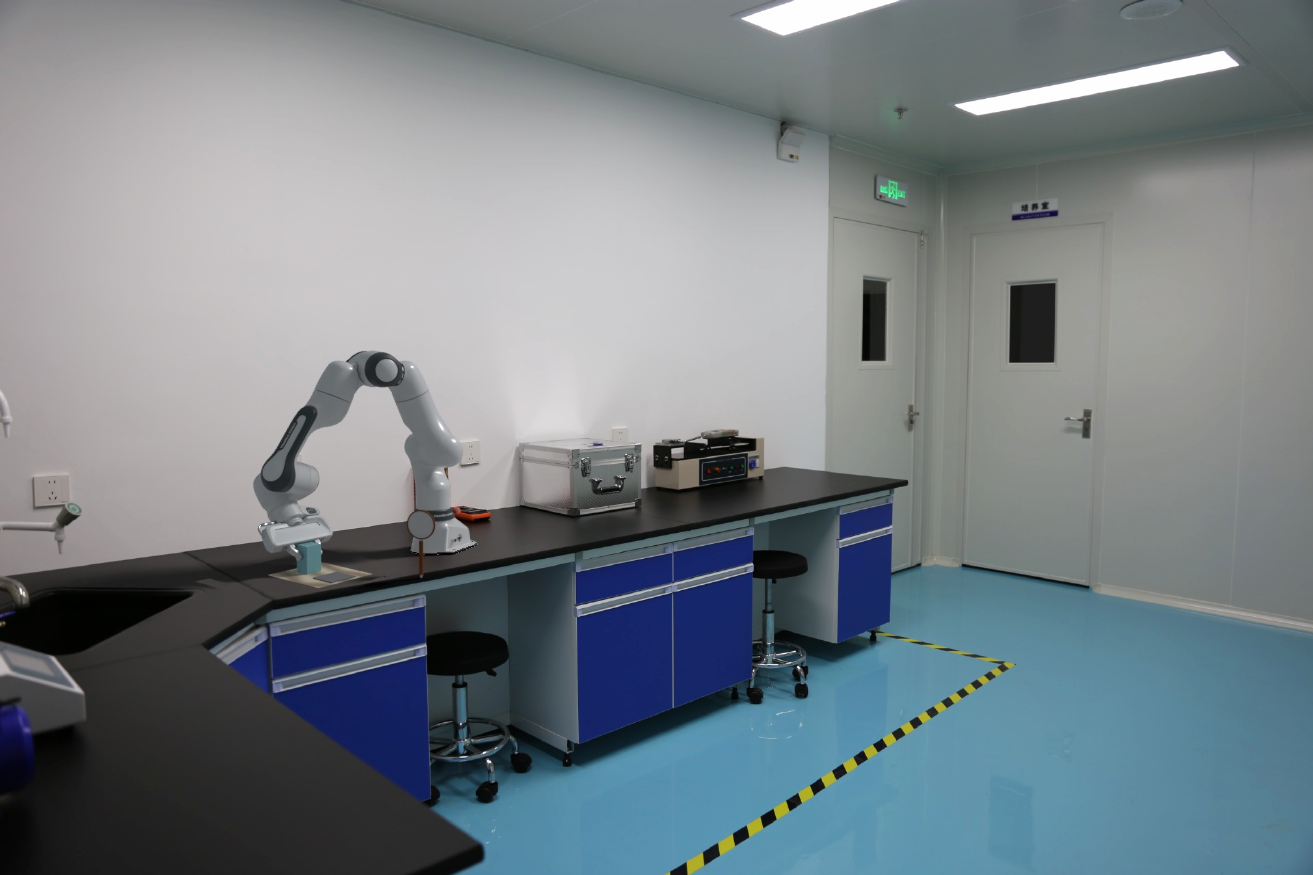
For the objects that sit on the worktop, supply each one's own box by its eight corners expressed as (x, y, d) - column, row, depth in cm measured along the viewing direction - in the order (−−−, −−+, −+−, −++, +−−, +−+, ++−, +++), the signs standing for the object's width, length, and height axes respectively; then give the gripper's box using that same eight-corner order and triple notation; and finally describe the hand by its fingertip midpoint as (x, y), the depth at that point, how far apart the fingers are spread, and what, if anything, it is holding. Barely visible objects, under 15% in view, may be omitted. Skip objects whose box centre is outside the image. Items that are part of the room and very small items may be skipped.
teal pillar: (310, 568, 244) (310, 541, 243) (321, 571, 242) (320, 543, 241) (296, 572, 240) (296, 544, 239) (307, 574, 238) (306, 546, 237)
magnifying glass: (405, 577, 243) (405, 509, 241) (408, 576, 245) (408, 508, 243) (433, 579, 242) (433, 511, 240) (436, 578, 243) (436, 510, 241)
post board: (322, 567, 252) (322, 545, 251) (372, 579, 241) (372, 556, 240) (267, 580, 237) (267, 557, 236) (318, 593, 225) (318, 569, 225)
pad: (337, 572, 241) (337, 571, 241) (355, 577, 237) (355, 575, 237) (312, 578, 234) (312, 577, 234) (331, 583, 230) (331, 582, 230)
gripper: (259, 517, 234) (282, 557, 230) (322, 507, 252) (344, 544, 248) (250, 531, 237) (272, 570, 233) (313, 520, 254) (334, 556, 250)
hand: (310, 557), depth 240 cm, fingers closed on teal pillar, 5 cm apart
